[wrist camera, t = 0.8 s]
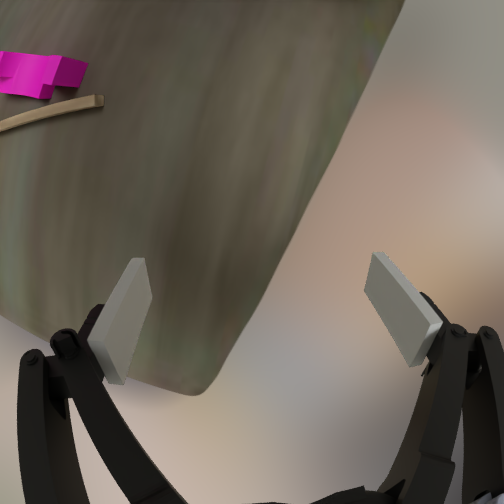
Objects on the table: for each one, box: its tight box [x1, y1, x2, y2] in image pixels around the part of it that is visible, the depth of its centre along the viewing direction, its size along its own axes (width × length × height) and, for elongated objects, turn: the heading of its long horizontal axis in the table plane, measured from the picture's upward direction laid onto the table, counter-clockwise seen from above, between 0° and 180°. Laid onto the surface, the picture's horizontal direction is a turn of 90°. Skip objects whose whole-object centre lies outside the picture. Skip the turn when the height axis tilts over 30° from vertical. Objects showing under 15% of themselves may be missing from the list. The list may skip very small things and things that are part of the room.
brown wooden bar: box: [0, 95, 104, 132], centre depth 28 cm, size 2×22×3 cm, turn 88°
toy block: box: [0, 51, 88, 99], centre depth 24 cm, size 15×6×8 cm, turn 66°
